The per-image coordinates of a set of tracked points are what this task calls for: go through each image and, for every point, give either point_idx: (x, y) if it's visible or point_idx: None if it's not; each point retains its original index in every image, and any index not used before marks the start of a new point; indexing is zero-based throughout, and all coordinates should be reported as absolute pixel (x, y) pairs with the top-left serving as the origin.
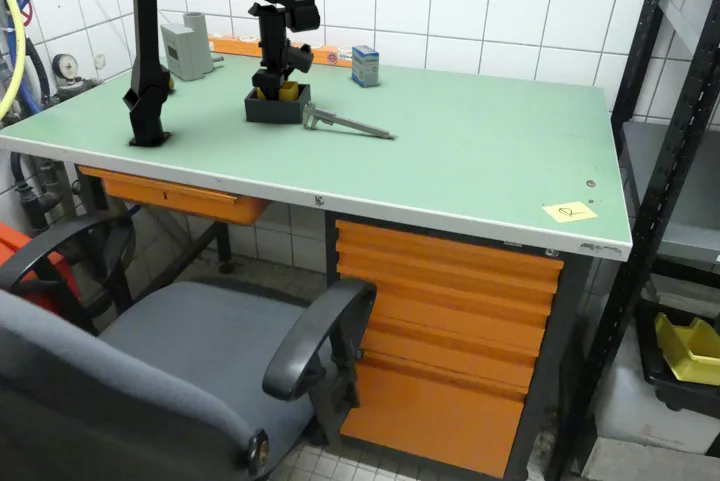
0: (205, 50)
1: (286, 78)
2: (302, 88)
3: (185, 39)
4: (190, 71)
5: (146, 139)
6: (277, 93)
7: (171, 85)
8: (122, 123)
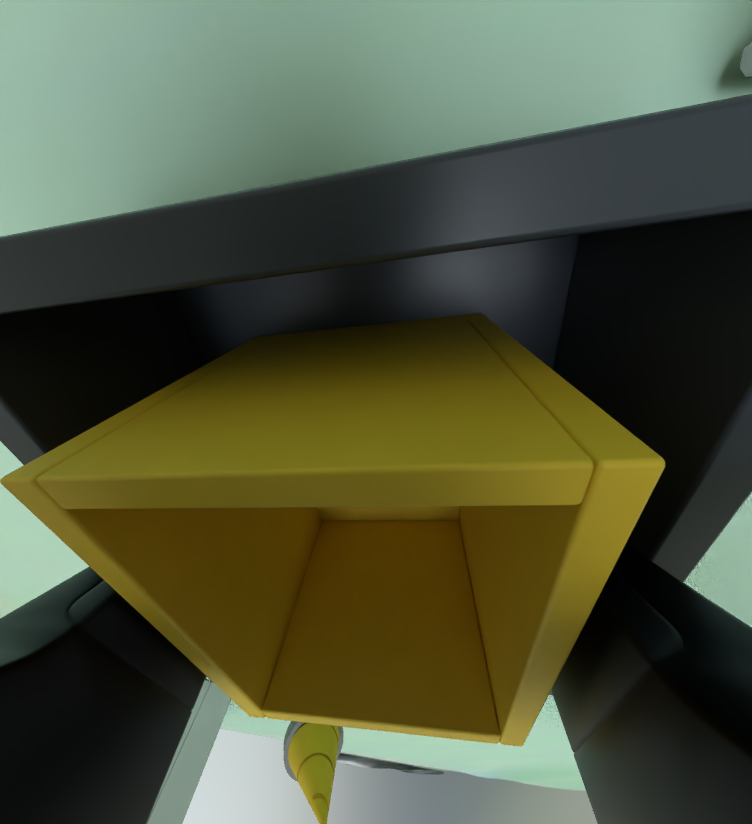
0: None
1: (85, 635)
2: (50, 366)
3: None
4: (203, 718)
5: None
6: (741, 632)
7: (313, 727)
8: (540, 731)
